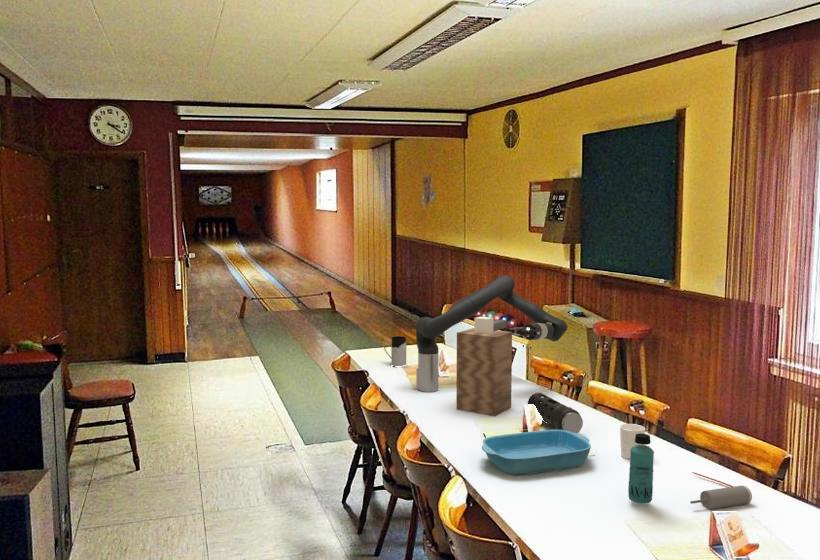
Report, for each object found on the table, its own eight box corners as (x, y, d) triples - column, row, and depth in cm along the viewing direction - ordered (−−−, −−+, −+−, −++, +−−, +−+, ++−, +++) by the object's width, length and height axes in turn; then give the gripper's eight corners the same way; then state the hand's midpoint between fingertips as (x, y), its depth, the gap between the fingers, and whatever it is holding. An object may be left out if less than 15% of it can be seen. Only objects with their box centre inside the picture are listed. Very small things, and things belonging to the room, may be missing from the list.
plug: (474, 332, 288) (474, 318, 287) (496, 326, 303) (496, 312, 303) (487, 334, 284) (487, 319, 284) (508, 327, 300) (509, 313, 299)
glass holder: (401, 368, 367) (401, 339, 365) (378, 365, 374) (378, 337, 373) (410, 365, 374) (410, 337, 372) (388, 362, 382) (388, 334, 380)
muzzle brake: (548, 416, 281) (548, 390, 280) (584, 438, 255) (585, 410, 254) (526, 418, 279) (526, 392, 278) (560, 440, 252) (561, 412, 251)
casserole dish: (498, 482, 214) (499, 459, 213) (470, 458, 235) (470, 437, 234) (604, 468, 225) (605, 446, 224) (568, 446, 246) (568, 426, 245)
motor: (763, 503, 197) (762, 485, 197) (698, 514, 190) (696, 495, 191) (705, 486, 219) (704, 470, 220) (644, 494, 213) (643, 478, 213)
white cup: (644, 454, 238) (645, 425, 237) (644, 461, 230) (644, 432, 229) (619, 451, 240) (620, 422, 239) (618, 459, 233) (619, 429, 232)
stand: (456, 409, 291) (456, 332, 288) (473, 401, 303) (473, 327, 299) (495, 416, 281) (496, 337, 278) (511, 408, 292) (512, 331, 289)
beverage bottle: (624, 500, 200) (626, 431, 198) (646, 499, 200) (649, 430, 198) (633, 509, 193) (635, 438, 191) (656, 508, 194) (659, 438, 192)
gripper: (522, 321, 318) (499, 322, 307) (549, 323, 308) (526, 324, 297) (522, 338, 319) (499, 339, 307) (548, 341, 308) (526, 342, 297)
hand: (512, 332), depth 302 cm, fingers open, 8 cm apart
